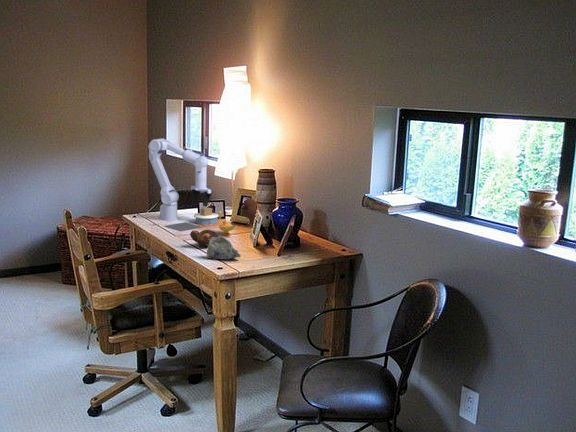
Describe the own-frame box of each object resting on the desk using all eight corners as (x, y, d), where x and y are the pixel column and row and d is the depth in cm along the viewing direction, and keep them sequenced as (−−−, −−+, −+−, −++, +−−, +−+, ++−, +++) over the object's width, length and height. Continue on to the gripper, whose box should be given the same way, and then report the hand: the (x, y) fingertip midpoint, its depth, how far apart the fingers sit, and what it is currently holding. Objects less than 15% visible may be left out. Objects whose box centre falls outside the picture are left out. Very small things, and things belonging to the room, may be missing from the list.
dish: (192, 223, 307) (192, 215, 306) (208, 220, 315) (208, 213, 314) (205, 226, 299) (205, 219, 299) (221, 223, 307) (221, 216, 306)
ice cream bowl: (261, 228, 298) (261, 200, 295) (239, 228, 298) (239, 199, 295) (262, 224, 308) (262, 196, 305) (241, 223, 308) (241, 196, 305)
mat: (163, 227, 296) (163, 226, 296) (185, 223, 306) (185, 222, 306) (180, 232, 286) (180, 231, 286) (203, 228, 296) (203, 227, 296)
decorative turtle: (187, 245, 263) (188, 227, 261) (220, 245, 268) (221, 228, 267) (192, 249, 254) (193, 231, 253) (225, 249, 259) (226, 232, 258)
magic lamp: (231, 240, 274) (231, 217, 271) (212, 232, 288) (212, 210, 286) (243, 238, 278) (244, 216, 276) (224, 230, 292) (224, 209, 290)
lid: (188, 215, 305) (188, 208, 305) (208, 212, 315) (208, 205, 314) (204, 219, 297) (204, 212, 296) (223, 216, 306) (223, 208, 305)
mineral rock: (242, 260, 241) (242, 237, 239) (220, 265, 234) (220, 241, 232) (224, 253, 250) (225, 231, 248) (203, 257, 244) (203, 234, 242)
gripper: (186, 178, 305) (186, 203, 307) (203, 182, 295) (203, 208, 298) (197, 177, 310) (196, 202, 312) (214, 180, 300) (214, 206, 303)
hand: (200, 205), depth 305 cm, fingers open, 7 cm apart
